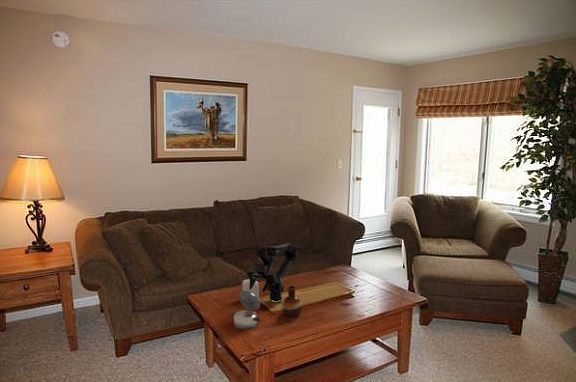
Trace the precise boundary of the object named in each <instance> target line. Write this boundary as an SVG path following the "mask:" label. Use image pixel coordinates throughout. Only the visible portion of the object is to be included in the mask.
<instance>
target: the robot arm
mask: <svg viewBox="0 0 576 382" xmlns="http://www.w3.org/2000/svg"><path fill="white" fill-rule="evenodd" d="M293 245H294V244H292V243H288V242H287V243H282V244H279V245H275V246H272V245H268V246H266V247H264V246H262V247H261V248H260V249H258V250H257V251H256V253H255V255H256V257H257V258H258V259H259V260H260V262H262V263H261V264H259V265H256V264H254V265H253V270H247V271H246V274H245V276H247V278H248V280H250V287H249V289H250V290H251V289H252V287H253V285H254V284H255V282H256V281H257V280H256V279H263V280H265V283H264V285H263V288H262V293H265V291H266V292H267V291H269V300H270V299H271V300H274V301H279V300H281V299H282V300H283V296H282V293H283V292H284V291H285V287H284V285H283V278H284V277H285V276H286V274H287V272H288V271H289V268H290V267H291V265H292V264H293V263H295V262H297V260H298V259H299V258H300V252H299V249H297V248H296V247H295V246H293ZM281 253H283V254H284V260H283V262H282V263H281V265H280V266H279V268H278V270H277V272H276V273H275V274H271V272H272V270H271V269H272V266H273V264H274V263H276V260H275V258H277V257H278V256H280V255H281ZM271 300H270V301H271Z"/></svg>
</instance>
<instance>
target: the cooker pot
mask: <svg viewBox="0 0 576 382" xmlns="http://www.w3.org/2000/svg"><path fill="white" fill-rule="evenodd" d="M230 316H233V324H234V327H235V328H237V329H242V330H245V329H250V328H251V329H252V328H253V327H256V325H257V323H258V322H260V320H261V317H258V315H257V312H256V311H255V310H251V309H247V310H246V309H244V310H240V311H239V310H238V311H237V312H235V311H232V312H231V313H230Z"/></svg>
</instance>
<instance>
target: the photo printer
mask: <svg viewBox="0 0 576 382" xmlns="http://www.w3.org/2000/svg"><path fill="white" fill-rule="evenodd" d="M241 285H242V286H241V287H242V291H248V292H251V293H252V294H254V295H255V296H256V297H257V298H258V299H259V300H260V298H259V297H260V295H259V294H260V293H259V291H260V287H259V281H257V280H256V282H255V284H254V285H253V287H252V289H251V290H250V289H249V287H250V279H244V280H243V281H242V283H241Z"/></svg>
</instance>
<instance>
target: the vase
mask: <svg viewBox="0 0 576 382" xmlns="http://www.w3.org/2000/svg"><path fill="white" fill-rule="evenodd" d="M287 293H288V295H287V296H285V298H284V299H283V300H282V302H281V304H282V305H281V307H282V311H283V314H284V315H285V316H286V317H290V318H296V317H298V316H300V315H301V313H302V310H303V302H302V300H301V299H300V297H298V296H296V286H293V285H291V286H288V287H287Z"/></svg>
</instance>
